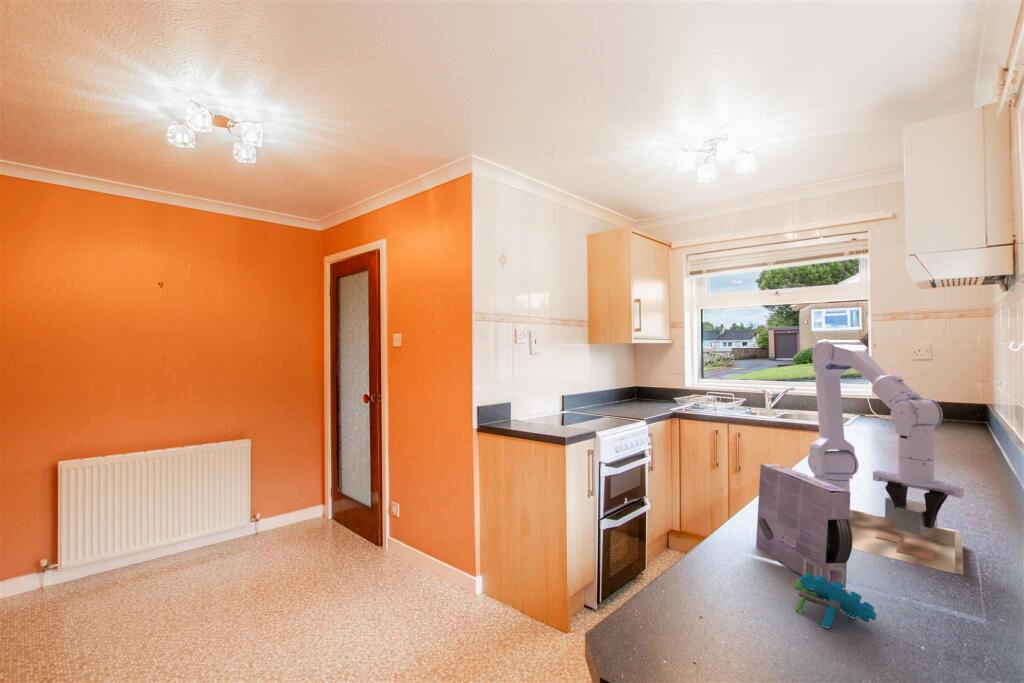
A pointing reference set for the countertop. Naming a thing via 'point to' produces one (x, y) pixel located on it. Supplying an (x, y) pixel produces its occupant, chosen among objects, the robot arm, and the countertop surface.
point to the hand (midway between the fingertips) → (915, 523)
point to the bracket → (908, 516)
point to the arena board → (907, 542)
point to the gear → (832, 598)
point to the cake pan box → (804, 522)
